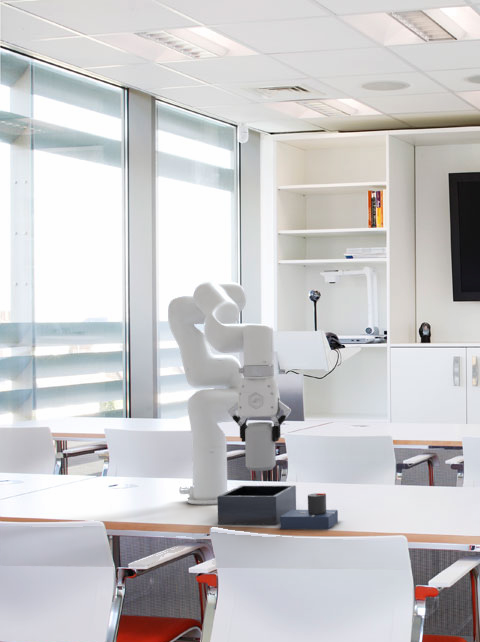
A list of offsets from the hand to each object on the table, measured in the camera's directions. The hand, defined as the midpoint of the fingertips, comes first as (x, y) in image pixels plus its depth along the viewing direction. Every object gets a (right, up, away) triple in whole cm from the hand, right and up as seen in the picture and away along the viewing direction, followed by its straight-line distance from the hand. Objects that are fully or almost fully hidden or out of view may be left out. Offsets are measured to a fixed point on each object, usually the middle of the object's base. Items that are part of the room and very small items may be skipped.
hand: (260, 440), depth 254 cm
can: (0, -7, 0) cm, 7 cm away
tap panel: (+14, -20, -11) cm, 27 cm away
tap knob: (+16, -17, -11) cm, 26 cm away
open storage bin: (-1, -20, 0) cm, 20 cm away
